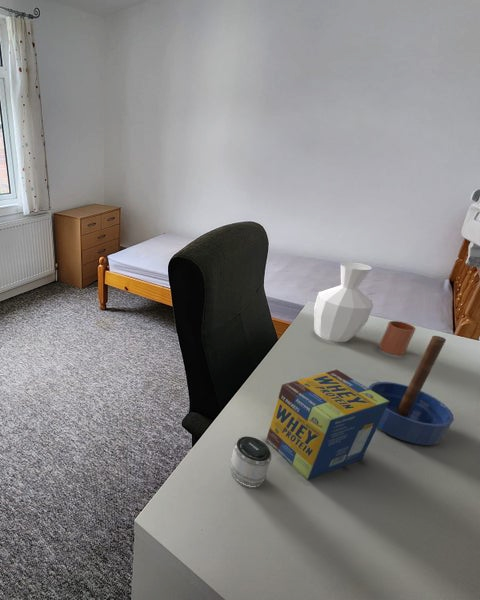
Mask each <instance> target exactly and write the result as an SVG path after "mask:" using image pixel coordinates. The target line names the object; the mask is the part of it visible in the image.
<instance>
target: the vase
mask: <svg viewBox="0 0 480 600" xmlns="http://www.w3.org/2000/svg"><path fill="white" fill-rule="evenodd" d="M372 269H373V268H372V266H370V265H368V264H365V263H361V262H355V261H342V262H340V284H339V285H336V286H334V287H330V288H327V289H325V290H322V291H318V293H317V296H316V300H315V303H314V306H313V312H314V313H313V321H314V322H313V323H314V324H313V330H314V333H315V334H316V335H317V336H318V337H320V338H322V339H323V340H326V341H328V342H329V341H330V342H335V343H346V342H348V341H350V340H351V339H352V338H353V337H355V336H356V335H357V334H358V333H359V332H360V331H361V330H362V328H363V327H364V326H365V325H366V324H367V322H368V320H369V318H370V314H371V312H372V310H373V308H374V305H373V302H372V300H371V299H370V298H369V297H368V296H367V295H365V294H364V293H363V292H362V291H361V290H360V289H358V287H359V286H360V285H361V284H362V282H363V280H365V279H366V277H367V276H368V275H369V273H370V272H371V271H372Z"/></svg>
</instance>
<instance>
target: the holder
mask: <svg viewBox="0 0 480 600" xmlns="http://www.w3.org/2000/svg"><path fill="white" fill-rule="evenodd" d="M387 323H388V324H387V325H386V328H385V330H384V332H383V335H382V338H381V340H380V342H379V345H378V348H379V349H380V350H381V351H383V352H385V353H387V354H390V355H393V356H394V355H395V356H404V355H405V354H406V352H407V349H408V347H409V344H410V343H411V341H412V338H413V336H414V334H415V332H416V330H417V329H416V327H415V326H414V325H412V324H410V323H407V322H404V321H399V320H390V321H389V322H387Z"/></svg>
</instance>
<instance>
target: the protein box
mask: <svg viewBox="0 0 480 600" xmlns="http://www.w3.org/2000/svg"><path fill="white" fill-rule="evenodd" d="M389 402H390V401H389V400H387V399H385V398H383V397H382V396H380V395H378V394H377V393H375V392H373V391H372V390H370V389H368V386H367V387H366V386H365V385H363V384H362V383H360V382H358V381H357V380H355V379H353V378H352V377H350V376H349V375H347V374H345V373H343V372H342V371H340V370H338V369H333V370H330V371H327V372H323V373H319V374H315V375H311V376H308V377H305V378H301V379H297V380H293V381H291V382H287V383H284V384H283V383H282V384H281V387H280V390H279V393H278V397H277V399H276V404H275V407H274V410H273V414H272V418H271V421H270V425H269V429H268V432H267V436H266V439H265V442H267V443H268V444H269V445H270V446H271V447H272V448H273V449H274V450H275V451H276V452H277V453H279V454H280V456H281V457H282V458H284V459H285V460H286V462H288V463H289V464H290V465H291V467H293V468H294V469H295V470H296V471H297V472H299V474H300V475H301V476H302V477H303V478H304V479H305V480H311V479H313V478H316V477H319V476H321V475H324V474H326V473H329V472H332V471H334V470H337V469H339V468H343V467H346V466H348V465H350V464H352V463H355V462H358V461H361V460H363V459H364V456H365V454H366V452H367V449H368V447H369V446H370V444H371V442H372V439H373V437H374V435H375V433H376V431H377V429H378V428H377V427H378V424H379V422H380V420H381V418H382V416H383V414H384V412H385V410H386V408H387V405H388V403H389ZM267 440H268V441H269V442H270V443H271V444H272V445H271V444H270V443H269V442H268V441H267ZM273 446H274V447H273Z"/></svg>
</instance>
